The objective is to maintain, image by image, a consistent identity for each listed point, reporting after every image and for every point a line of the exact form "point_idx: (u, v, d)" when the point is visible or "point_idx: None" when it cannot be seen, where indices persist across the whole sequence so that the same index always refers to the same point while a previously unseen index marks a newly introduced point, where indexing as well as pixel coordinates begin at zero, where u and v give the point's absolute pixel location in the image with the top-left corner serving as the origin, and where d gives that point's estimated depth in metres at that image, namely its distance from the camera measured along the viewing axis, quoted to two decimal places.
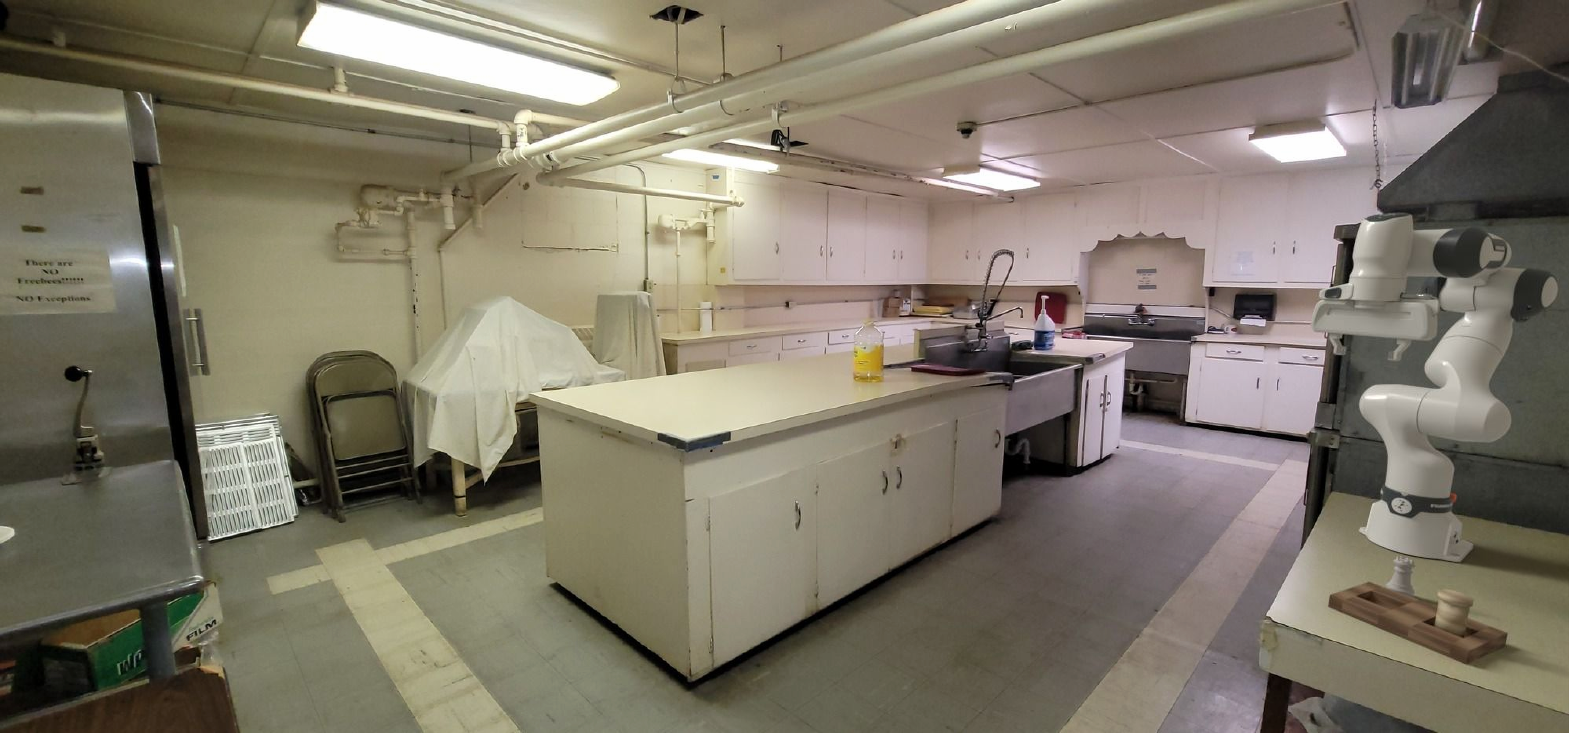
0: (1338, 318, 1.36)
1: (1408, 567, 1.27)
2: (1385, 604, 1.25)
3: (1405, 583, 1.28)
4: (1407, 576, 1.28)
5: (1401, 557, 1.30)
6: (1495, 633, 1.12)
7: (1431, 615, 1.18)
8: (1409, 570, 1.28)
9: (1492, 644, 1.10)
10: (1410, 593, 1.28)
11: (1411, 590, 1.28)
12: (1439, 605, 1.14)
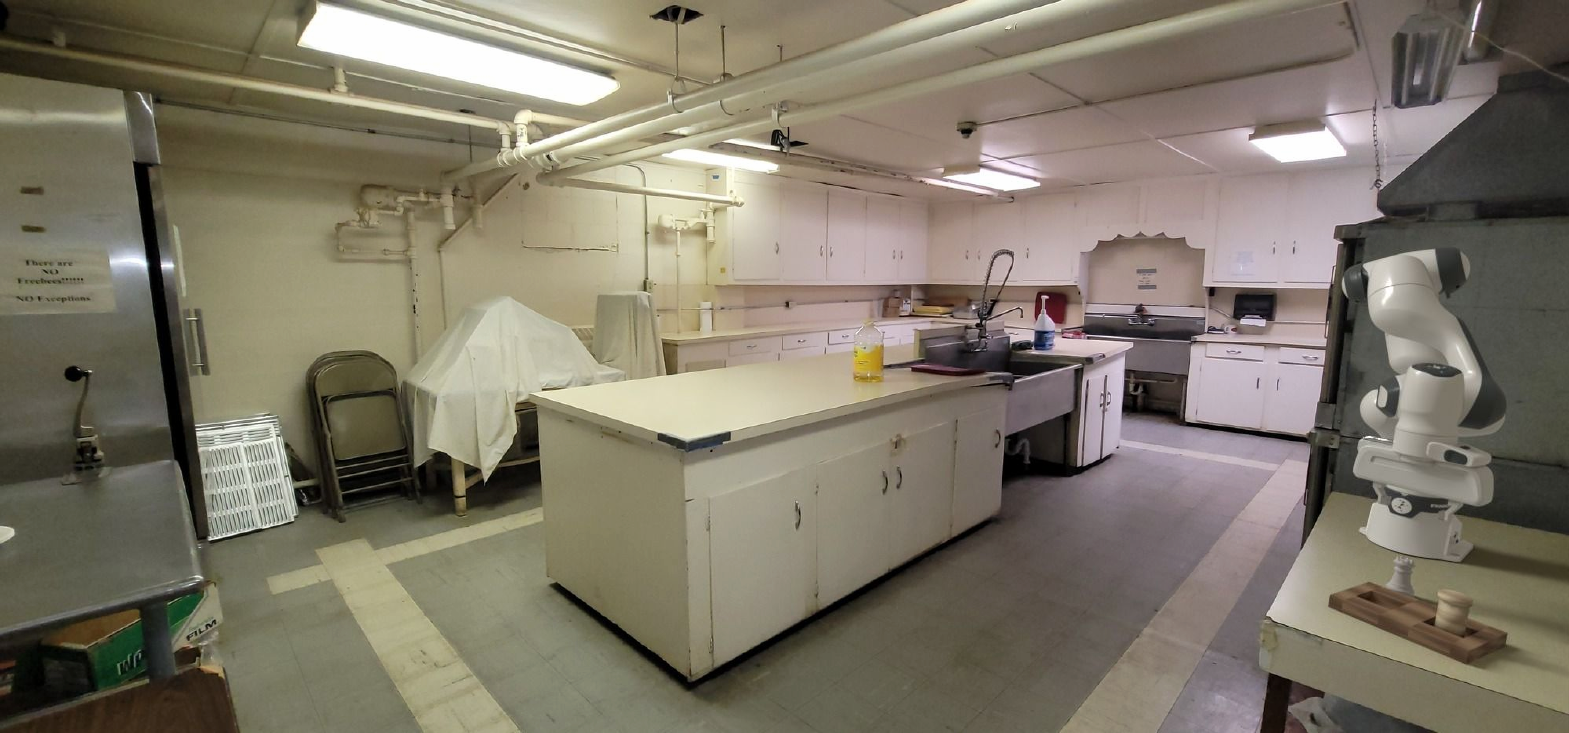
0: None
1: (1408, 567, 1.27)
2: (1385, 604, 1.25)
3: (1405, 583, 1.28)
4: (1407, 576, 1.28)
5: (1401, 557, 1.30)
6: (1495, 633, 1.12)
7: (1431, 615, 1.18)
8: (1409, 570, 1.28)
9: (1492, 644, 1.10)
10: (1410, 593, 1.28)
11: (1411, 590, 1.28)
12: (1439, 605, 1.14)
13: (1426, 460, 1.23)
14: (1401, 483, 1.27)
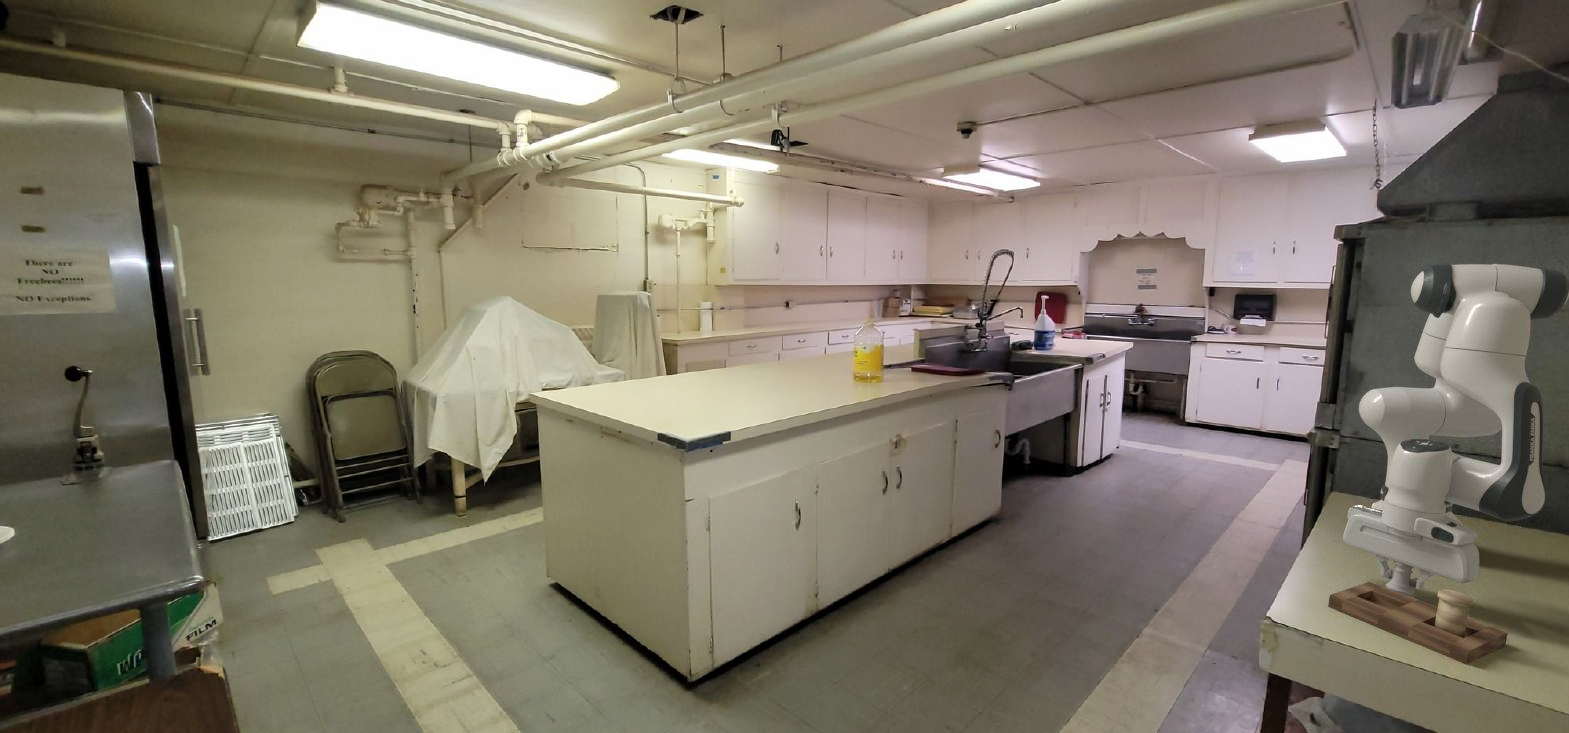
0: None
1: (1408, 567, 1.27)
2: (1385, 604, 1.25)
3: (1405, 583, 1.28)
4: (1407, 576, 1.28)
5: None
6: (1495, 633, 1.12)
7: (1431, 615, 1.18)
8: (1409, 570, 1.28)
9: (1492, 644, 1.10)
10: (1410, 593, 1.28)
11: (1411, 590, 1.28)
12: (1439, 605, 1.14)
13: (1414, 535, 1.25)
14: (1390, 554, 1.29)
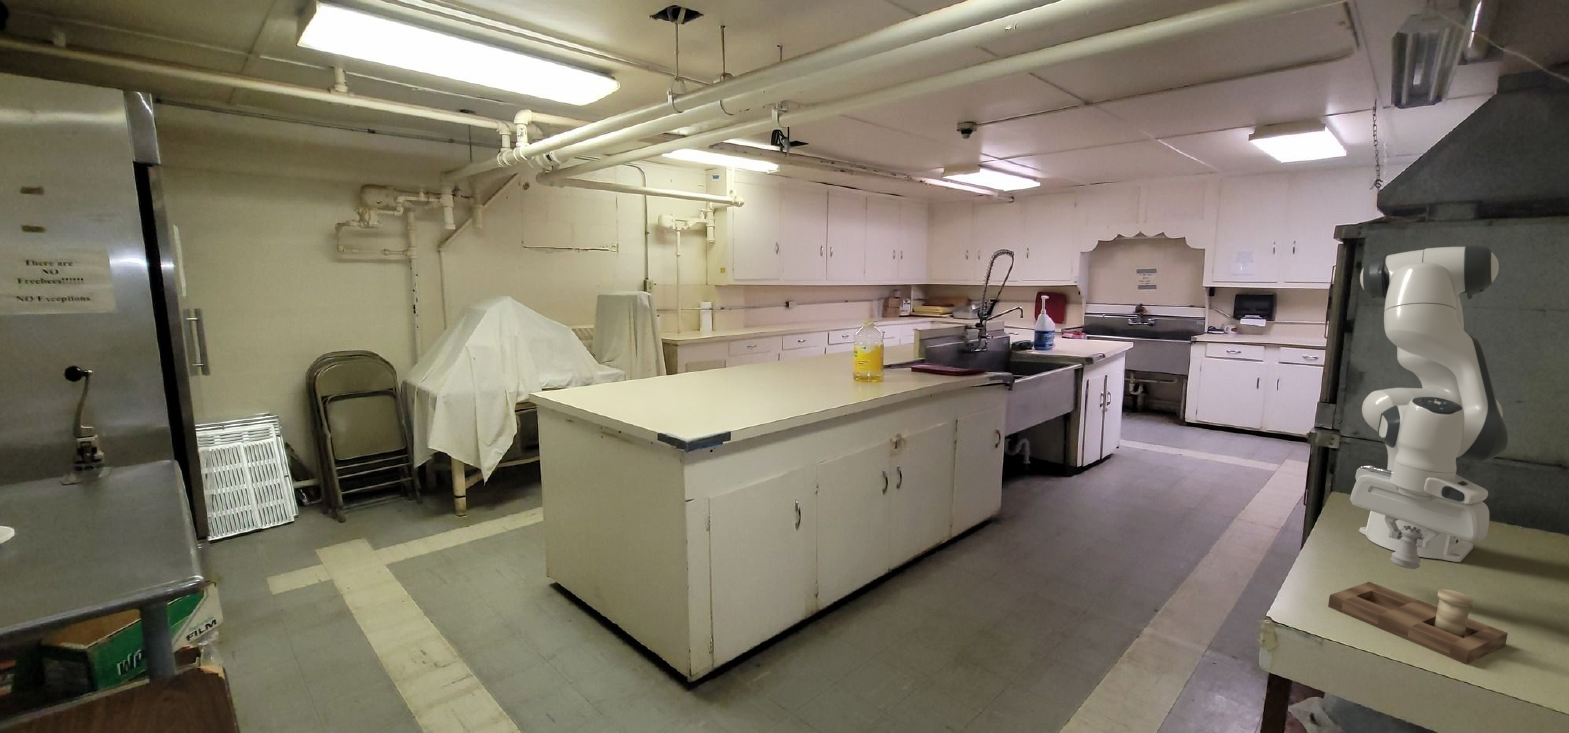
0: None
1: (1415, 536, 1.27)
2: (1385, 604, 1.25)
3: (1411, 552, 1.28)
4: (1414, 545, 1.28)
5: (1408, 526, 1.29)
6: (1495, 633, 1.12)
7: (1431, 615, 1.18)
8: (1416, 539, 1.27)
9: (1492, 644, 1.10)
10: (1416, 562, 1.27)
11: (1417, 559, 1.28)
12: (1439, 605, 1.14)
13: (1423, 494, 1.24)
14: (1398, 514, 1.28)
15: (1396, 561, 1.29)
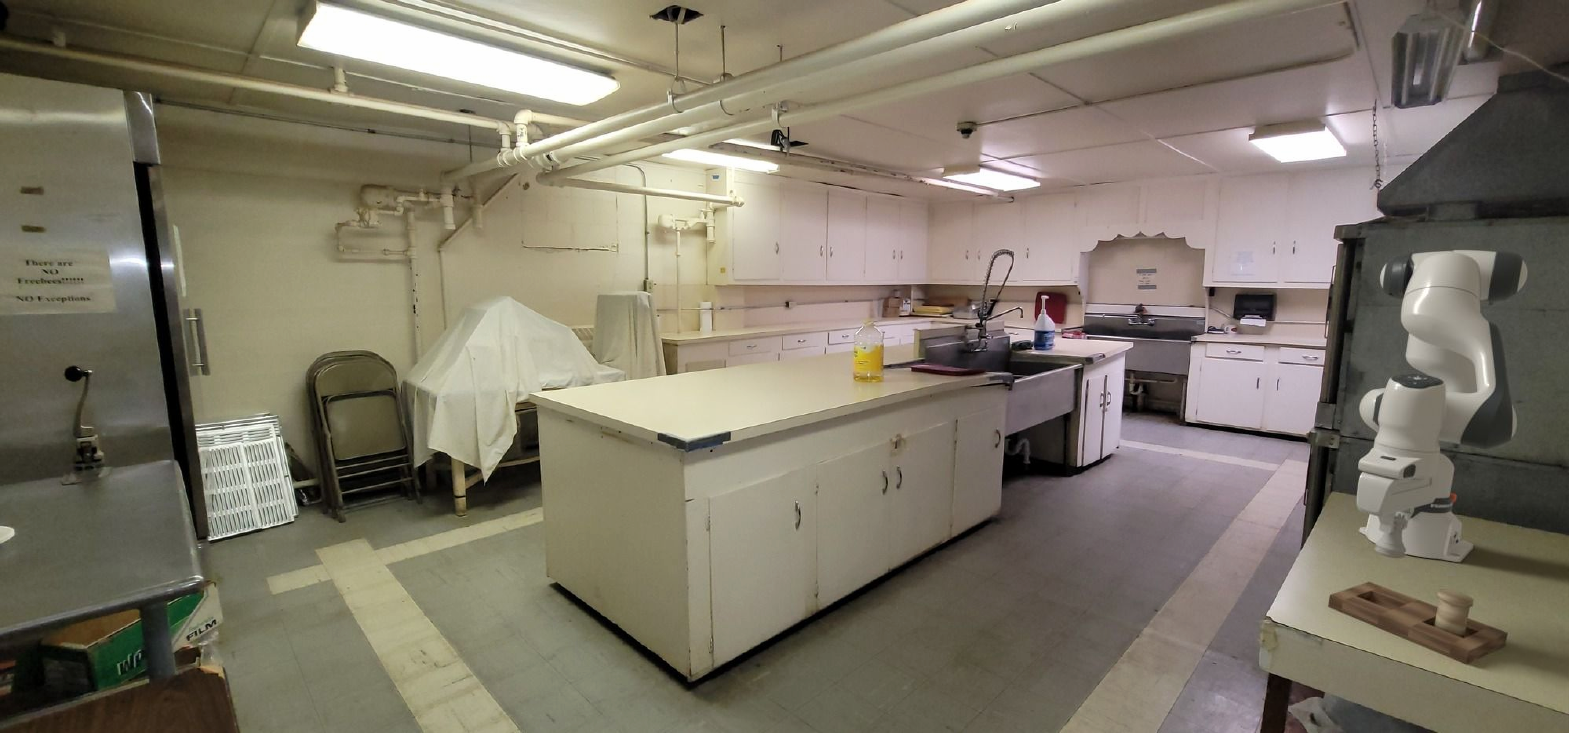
0: (1396, 496, 1.16)
1: None
2: (1385, 604, 1.25)
3: (1383, 536, 1.21)
4: None
5: (1402, 516, 1.20)
6: (1495, 633, 1.12)
7: (1431, 615, 1.18)
8: None
9: (1492, 644, 1.10)
10: (1380, 546, 1.21)
11: (1385, 545, 1.20)
12: (1439, 605, 1.14)
13: None
14: None
15: None
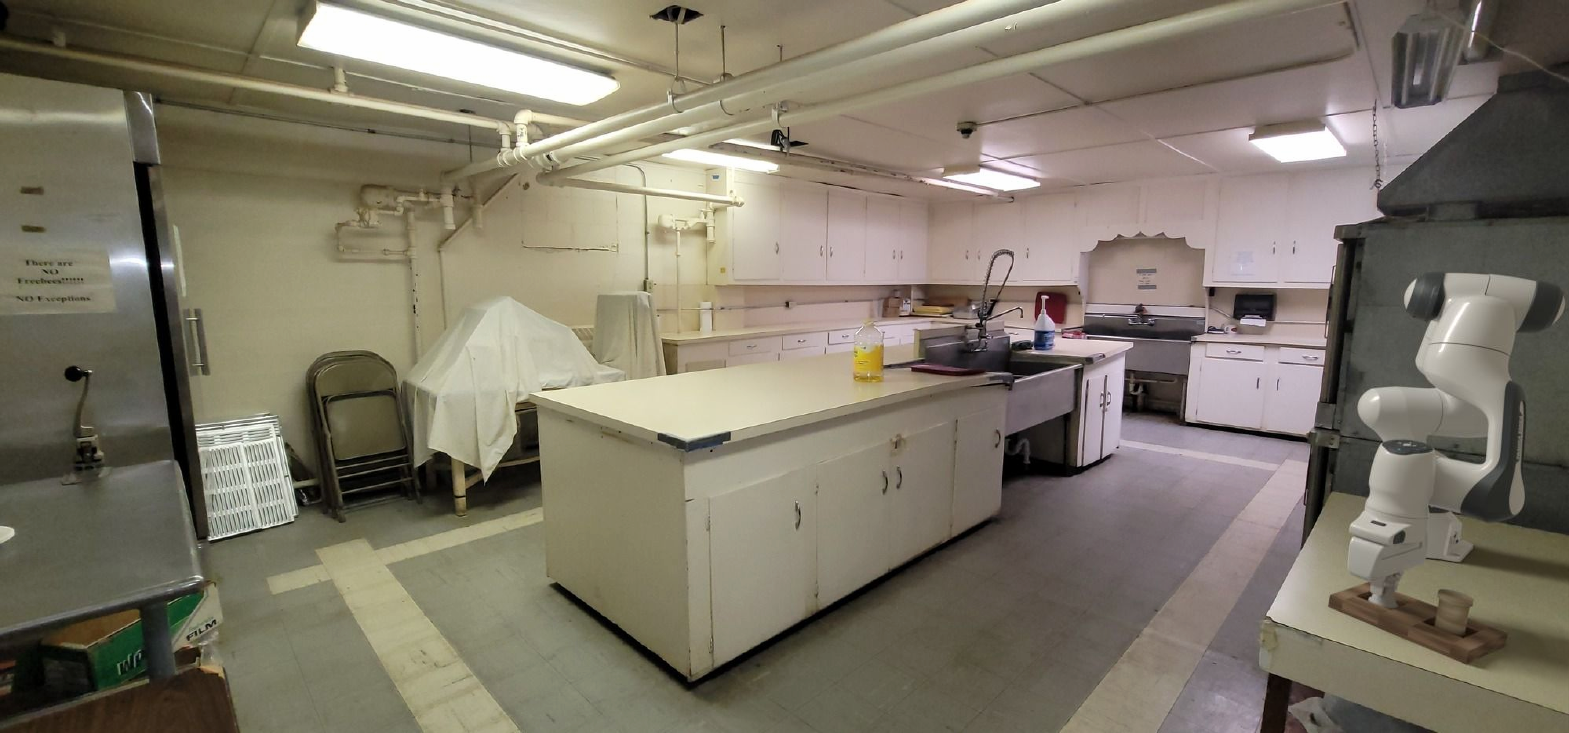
0: (1386, 561, 1.18)
1: None
2: None
3: None
4: None
5: None
6: (1495, 633, 1.12)
7: (1431, 615, 1.18)
8: None
9: (1492, 644, 1.10)
10: None
11: (1377, 602, 1.22)
12: (1439, 605, 1.14)
13: None
14: None
15: None
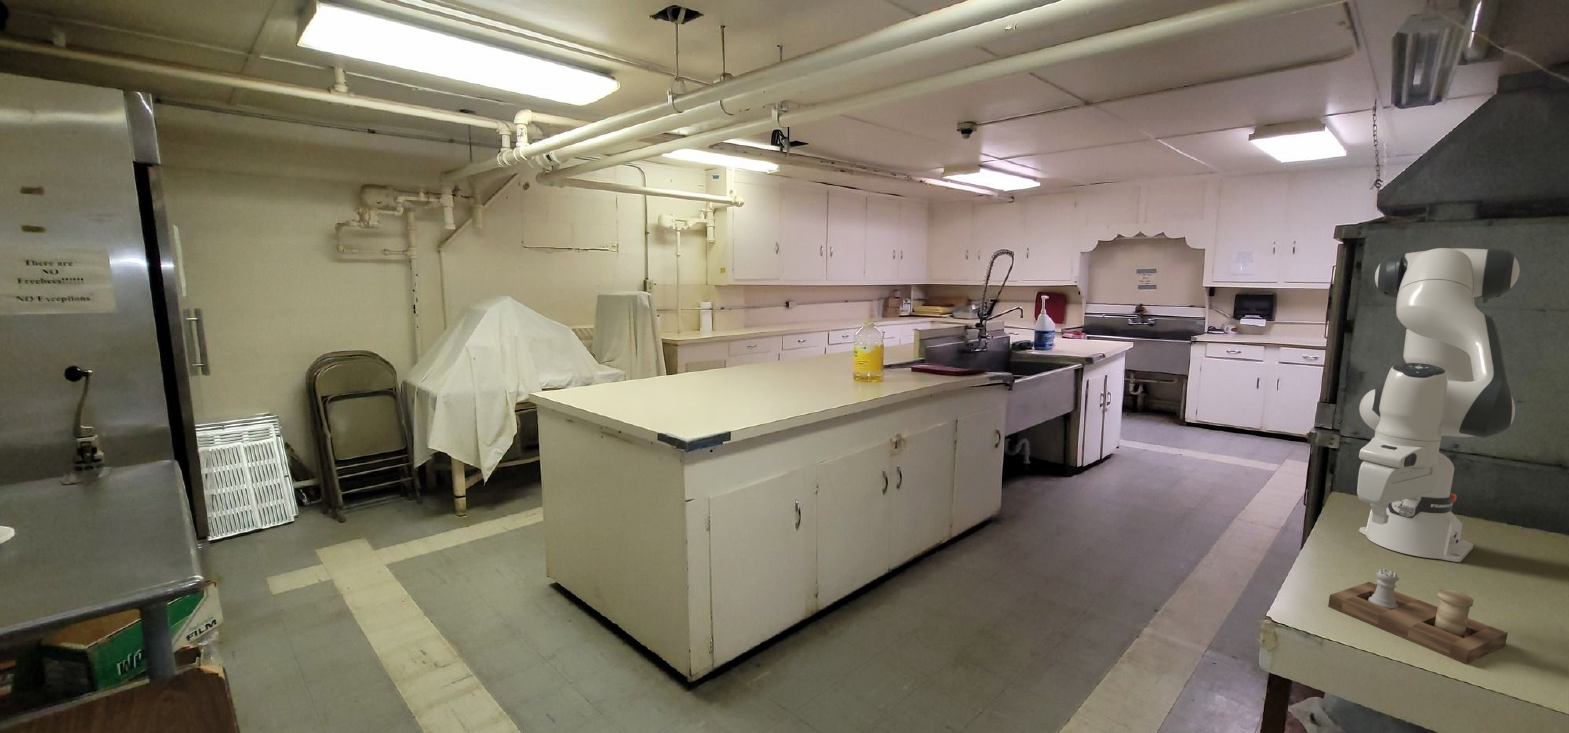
0: (1397, 485, 1.16)
1: (1378, 576, 1.22)
2: None
3: (1376, 593, 1.23)
4: (1379, 587, 1.22)
5: (1394, 573, 1.21)
6: (1495, 633, 1.12)
7: (1431, 615, 1.18)
8: (1381, 581, 1.22)
9: (1492, 644, 1.10)
10: None
11: (1377, 602, 1.22)
12: (1439, 605, 1.14)
13: None
14: None
15: None
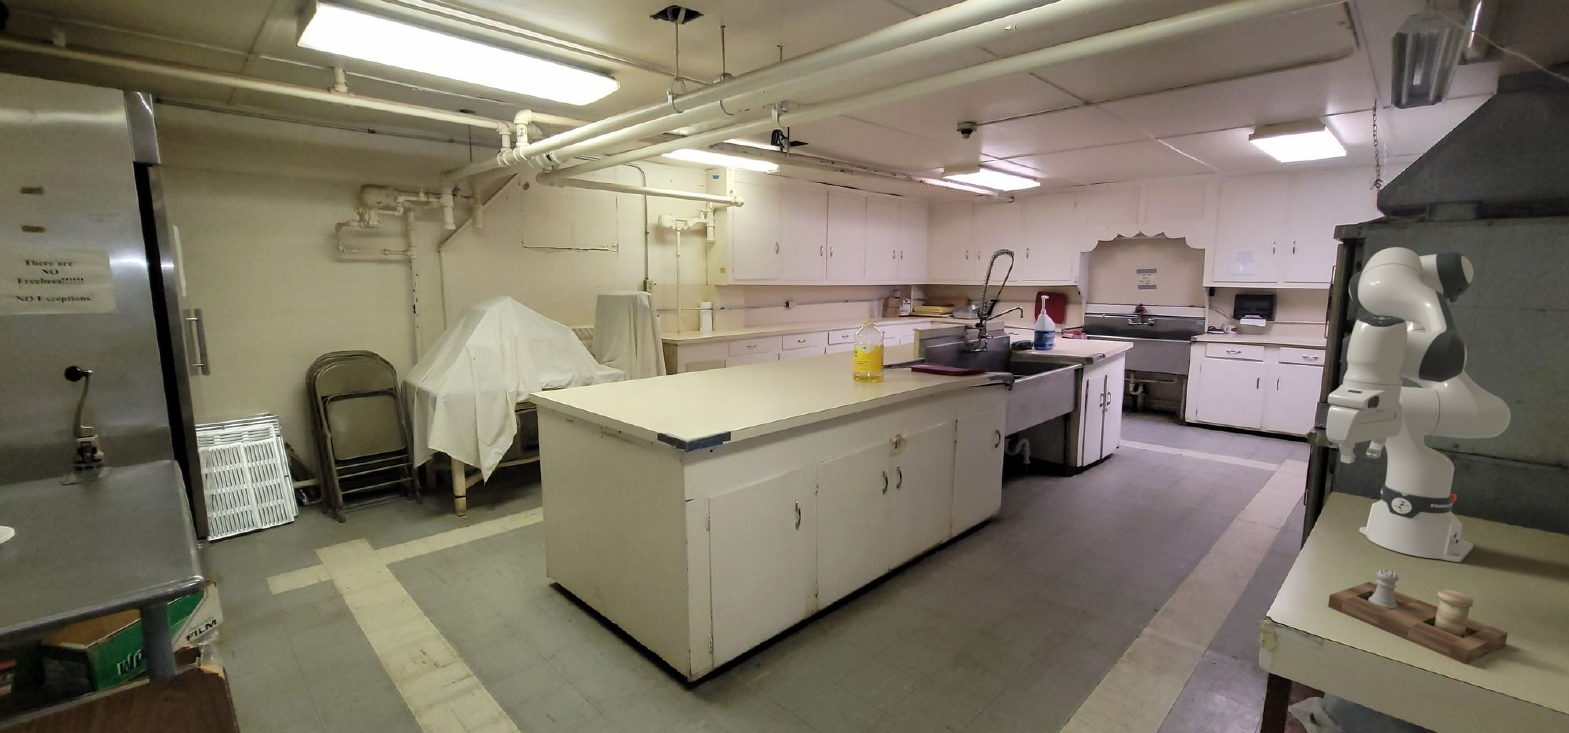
0: (1362, 426, 1.27)
1: (1378, 576, 1.22)
2: None
3: (1376, 593, 1.23)
4: (1379, 587, 1.22)
5: (1394, 573, 1.21)
6: (1495, 633, 1.12)
7: (1431, 615, 1.18)
8: (1381, 581, 1.22)
9: (1492, 644, 1.10)
10: None
11: (1377, 602, 1.22)
12: (1439, 605, 1.14)
13: None
14: None
15: None
